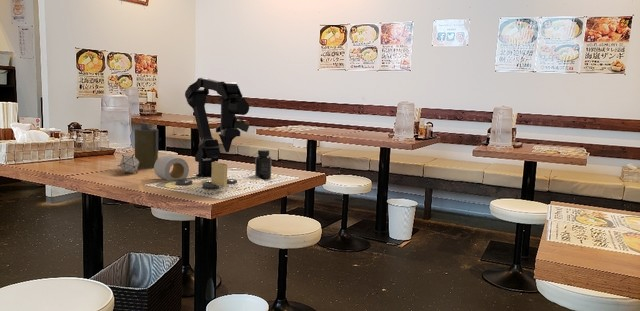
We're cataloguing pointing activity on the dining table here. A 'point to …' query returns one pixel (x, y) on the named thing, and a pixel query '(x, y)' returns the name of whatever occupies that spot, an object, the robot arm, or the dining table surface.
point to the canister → (146, 145)
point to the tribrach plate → (189, 182)
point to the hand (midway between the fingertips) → (227, 152)
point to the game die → (129, 163)
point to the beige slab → (217, 176)
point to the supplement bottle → (263, 165)
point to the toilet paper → (166, 162)
